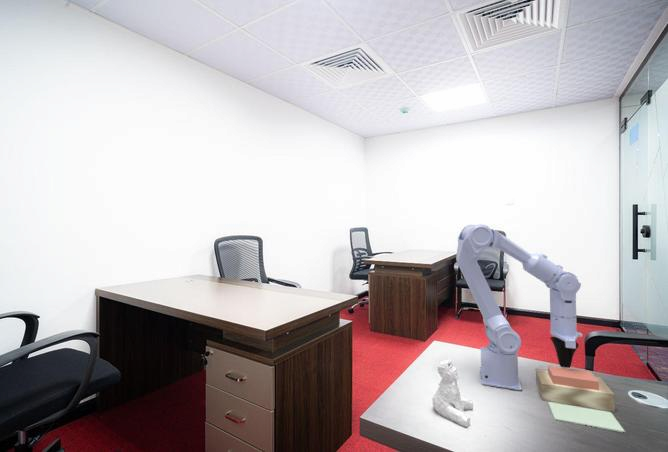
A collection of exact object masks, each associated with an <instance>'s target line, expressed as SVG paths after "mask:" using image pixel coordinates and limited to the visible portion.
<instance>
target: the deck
mask: <svg viewBox="0 0 668 452" xmlns="http://www.w3.org/2000/svg"><path fill="white" fill-rule="evenodd" d="M595 378H596V379H597V380H598V381H599V390H593V389H586V388H579V387H572V386H565V385H558V384H553V382H552V380H551V378H550V376H549V374H548V370H545V369H538V368H536V369H535V385H536V388H537V390H538V392H539V396H540V398H541V400H542V401H545V402H552V403H558V404H564V405H570V406H577V407H583V408H589V409H595V410H601V411H607V412H611V413H615V412H616V408H615V407H616V405H615V393H614V392H613V391H612V390H611V389H610V387H609V386H608V385H607V384H606V383H605V382H604V380H603V379H602V378H601V377H599V376H598V377H597V376H595Z"/></svg>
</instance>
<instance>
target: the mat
mask: <svg viewBox="0 0 668 452" xmlns="http://www.w3.org/2000/svg"><path fill="white" fill-rule="evenodd" d="M547 404H548V406H549V409H550V411H551V413H552V416H553V419H554V420H555V421H559V422H562V423H563V422H565V423H568V424H575V425H581V426H585V425H587V427H591V426H592V428H596V427H597V429H601V430H602V429H603V430H608V431H614V432H619V433H623V432H624V434H625V433H626V431H625V429H624V428H623V426H622V425H621V424H620V422H619V421H618V420H617V419H616V417H615V416H614V414H613V412H611V411H605V410H599V409H593V408H587V407H581V406H575V405H568V404H562V403H556V402H550V401H547Z"/></svg>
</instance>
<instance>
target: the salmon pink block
mask: <svg viewBox="0 0 668 452" xmlns="http://www.w3.org/2000/svg"><path fill="white" fill-rule="evenodd" d="M547 371H548V374H549V376H550V378H551V380H552V382H553V384H558V385H565V386H572V387H579V388H586V389H593V390H599V381H598V380H597V379H596V378H595V377H596V376H595V375H594V374H593V372H591V371H590V370H583V369H576V368H575V369H574V368H566V367H561V366H560V367H559V366H551V365H547Z"/></svg>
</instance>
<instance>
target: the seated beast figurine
mask: <svg viewBox="0 0 668 452" xmlns="http://www.w3.org/2000/svg"><path fill="white" fill-rule="evenodd" d="M437 371H438V374H439V376H440V377H441V380H440V382H439V383H438V386H439V387H438V388H437V390H436V391H435V393H434V394H433V397H432V398H431V399H432V406H434V410H436V412H438V414H439V415H441V416H442V417H445V418H447V419H448V420H450V421H452V422H454V423H456V424H458V425H460V426H462V427H464V428H465V427H466V428H468V427H469V426H470V424H471V418H470V416H469V415H468V414H467V413H466V412H465V410H466V411H467V410H471V411H472V410H473V409H474V402H473V401H472V399H469V398H467V397H466V396H461V393H460V389H459V386H458V379H459V376H458V371H457V368H456V367H455V366H454V364H453V363H452V360H451V359H445V360H441V361H440V362H439V363H438V365H437Z"/></svg>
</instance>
